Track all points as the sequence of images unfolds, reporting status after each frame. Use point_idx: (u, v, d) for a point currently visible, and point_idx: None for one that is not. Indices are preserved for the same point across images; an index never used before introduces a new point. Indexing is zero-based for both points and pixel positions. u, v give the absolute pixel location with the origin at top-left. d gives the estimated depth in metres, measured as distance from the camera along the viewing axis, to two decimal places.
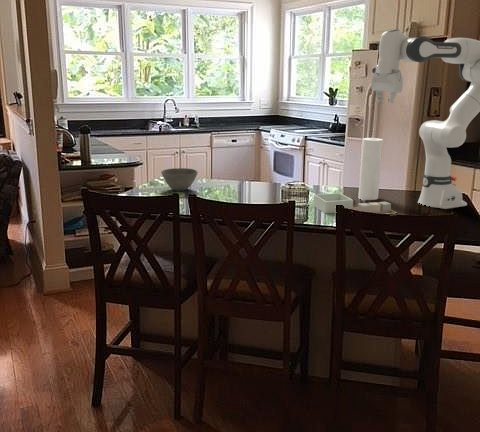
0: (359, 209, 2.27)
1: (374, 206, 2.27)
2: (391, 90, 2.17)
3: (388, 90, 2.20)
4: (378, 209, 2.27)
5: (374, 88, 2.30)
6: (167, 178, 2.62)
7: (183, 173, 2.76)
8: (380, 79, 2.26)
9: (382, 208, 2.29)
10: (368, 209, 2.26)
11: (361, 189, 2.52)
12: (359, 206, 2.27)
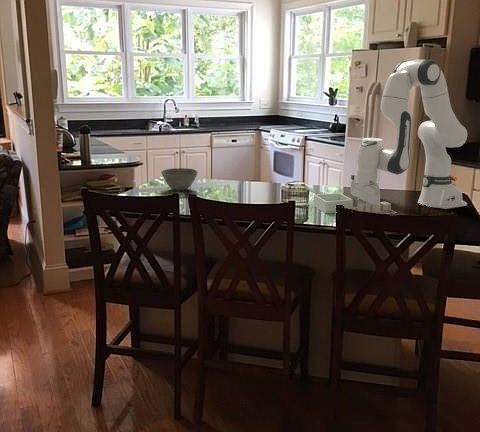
0: (359, 209, 2.27)
1: (374, 206, 2.27)
2: (369, 202, 2.19)
3: (366, 201, 2.21)
4: (378, 209, 2.27)
5: (353, 194, 2.32)
6: (167, 178, 2.62)
7: (183, 173, 2.76)
8: (359, 187, 2.27)
9: (382, 208, 2.29)
10: None
11: None
12: (359, 206, 2.27)
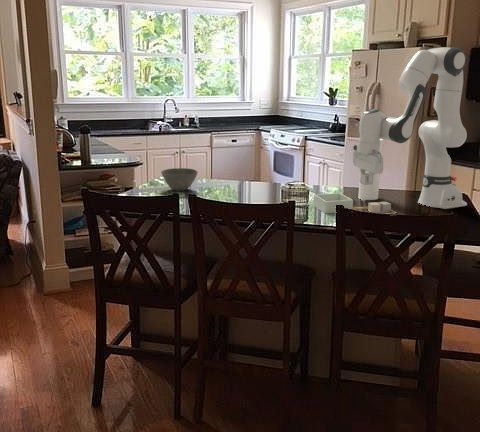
0: (362, 179, 2.24)
1: (374, 206, 2.27)
2: (372, 171, 2.15)
3: (369, 170, 2.18)
4: (378, 209, 2.27)
5: (356, 164, 2.28)
6: (167, 178, 2.62)
7: (183, 173, 2.76)
8: (361, 157, 2.24)
9: (382, 208, 2.29)
10: None
11: (361, 189, 2.52)
12: (362, 176, 2.24)
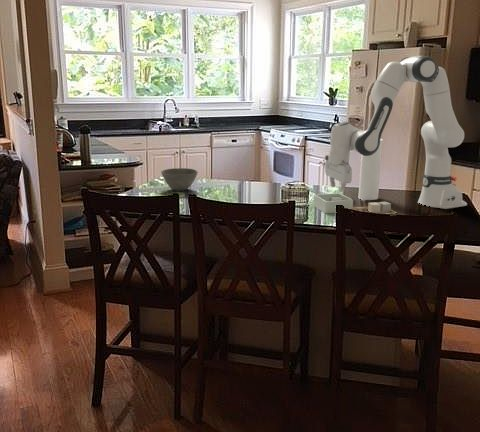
0: None
1: (374, 206, 2.27)
2: (341, 180, 2.27)
3: (339, 180, 2.30)
4: (378, 209, 2.27)
5: (327, 174, 2.40)
6: (167, 178, 2.62)
7: (183, 173, 2.76)
8: (332, 167, 2.36)
9: (382, 208, 2.29)
10: None
11: (361, 189, 2.52)
12: (332, 200, 2.38)
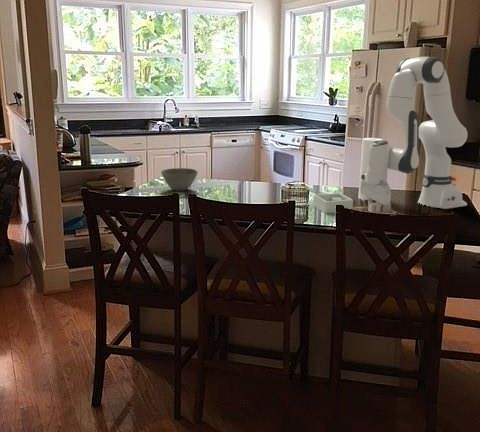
0: None
1: (374, 206, 2.27)
2: (379, 201, 2.20)
3: (377, 200, 2.23)
4: None
5: (363, 193, 2.33)
6: (167, 178, 2.62)
7: (183, 173, 2.76)
8: (369, 186, 2.29)
9: (382, 208, 2.29)
10: None
11: None
12: (332, 200, 2.38)
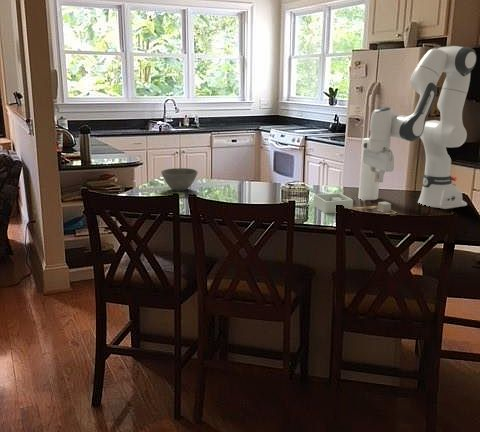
0: None
1: (377, 174, 2.23)
2: (382, 169, 2.16)
3: (380, 168, 2.19)
4: None
5: (366, 162, 2.29)
6: (167, 178, 2.62)
7: (183, 173, 2.76)
8: (372, 155, 2.25)
9: (382, 208, 2.29)
10: None
11: (361, 189, 2.52)
12: (332, 200, 2.38)
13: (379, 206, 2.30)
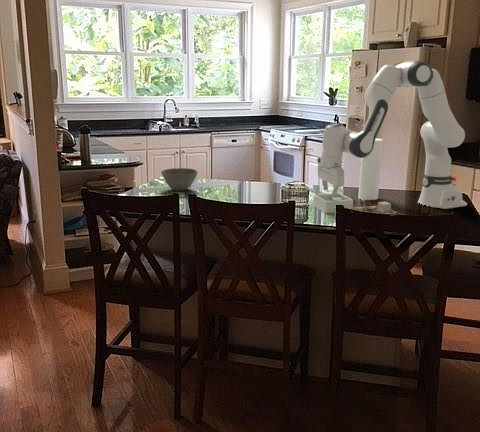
0: None
1: None
2: (333, 184, 2.21)
3: (331, 183, 2.23)
4: None
5: (320, 176, 2.34)
6: (167, 178, 2.62)
7: (183, 173, 2.76)
8: (325, 169, 2.29)
9: (382, 208, 2.29)
10: None
11: (361, 189, 2.52)
12: (332, 200, 2.38)
13: (379, 206, 2.30)
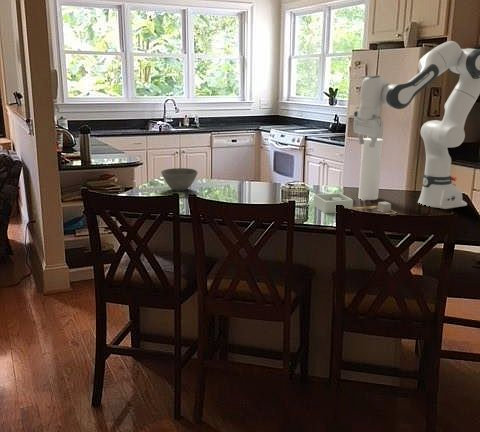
0: None
1: None
2: (372, 135, 2.21)
3: (369, 135, 2.23)
4: None
5: (356, 131, 2.34)
6: (167, 178, 2.62)
7: (183, 173, 2.76)
8: (362, 123, 2.29)
9: (382, 208, 2.29)
10: None
11: (361, 189, 2.52)
12: (332, 200, 2.38)
13: (379, 206, 2.30)
